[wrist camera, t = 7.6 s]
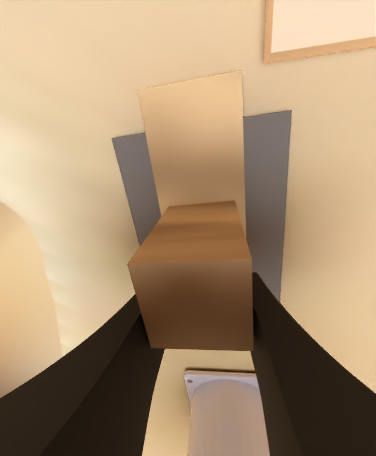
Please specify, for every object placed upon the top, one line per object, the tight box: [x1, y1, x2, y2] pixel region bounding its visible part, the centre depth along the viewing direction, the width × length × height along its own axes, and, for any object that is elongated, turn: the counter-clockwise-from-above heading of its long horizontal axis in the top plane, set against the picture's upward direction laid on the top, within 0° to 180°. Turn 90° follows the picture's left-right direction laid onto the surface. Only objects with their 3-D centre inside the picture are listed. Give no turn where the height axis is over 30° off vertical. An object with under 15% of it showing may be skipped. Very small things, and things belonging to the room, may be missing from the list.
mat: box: [112, 110, 292, 302], centre depth 13 cm, size 14×9×1 cm, turn 8°
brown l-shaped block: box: [127, 70, 253, 351], centre depth 8 cm, size 9×4×7 cm, turn 8°
